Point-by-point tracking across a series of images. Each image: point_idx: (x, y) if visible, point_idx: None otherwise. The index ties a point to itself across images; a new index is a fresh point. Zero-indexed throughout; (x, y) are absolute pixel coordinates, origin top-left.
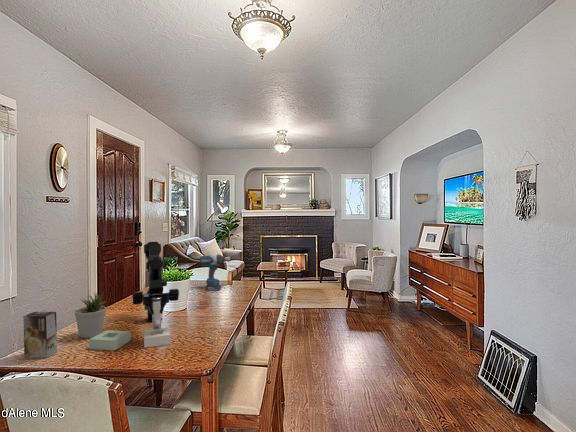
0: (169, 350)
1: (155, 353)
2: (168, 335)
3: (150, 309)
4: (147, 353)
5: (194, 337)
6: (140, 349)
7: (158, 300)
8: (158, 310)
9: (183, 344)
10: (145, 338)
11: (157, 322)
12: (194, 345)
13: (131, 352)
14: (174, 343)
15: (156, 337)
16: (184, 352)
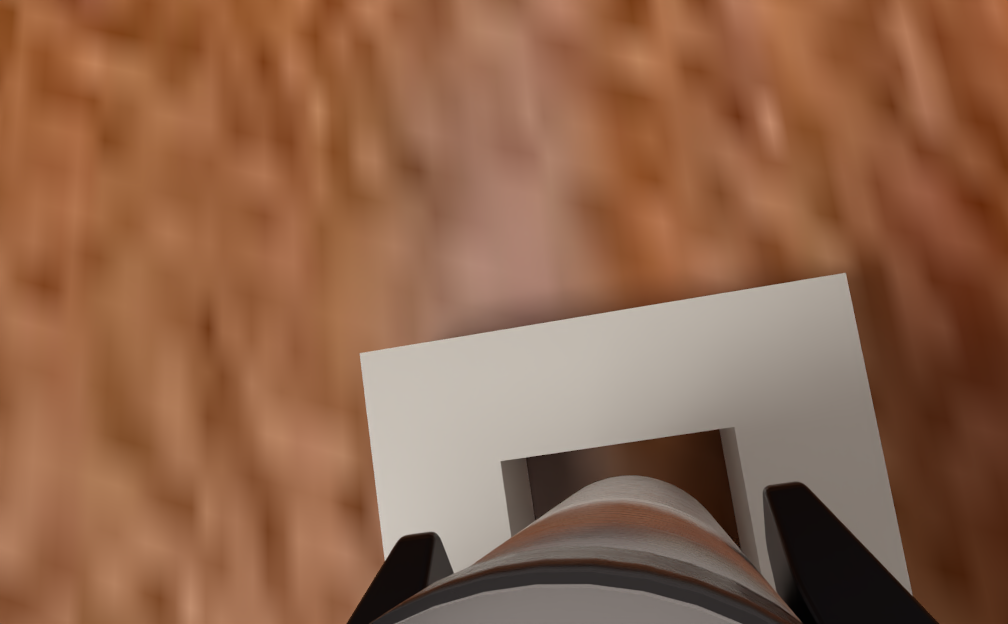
0: (403, 116)
1: (596, 40)
2: (391, 349)
3: (892, 593)
4: (717, 62)
5: (41, 596)
6: (863, 252)
7: (406, 601)
8: (522, 531)
9: (211, 316)
10: (820, 280)
11: (595, 486)
12: (62, 236)
13: (989, 151)
14: (344, 395)
15: (611, 314)
16: (200, 3)
